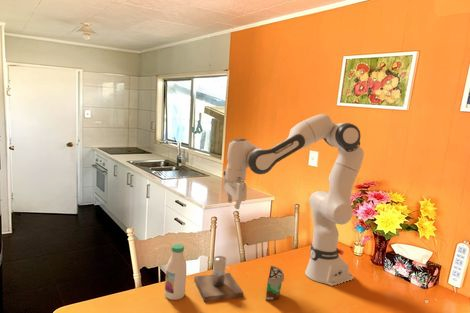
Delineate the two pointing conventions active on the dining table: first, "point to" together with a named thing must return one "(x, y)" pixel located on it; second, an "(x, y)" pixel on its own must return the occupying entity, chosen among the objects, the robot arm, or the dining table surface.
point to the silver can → (219, 271)
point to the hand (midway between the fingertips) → (233, 205)
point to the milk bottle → (176, 274)
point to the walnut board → (218, 288)
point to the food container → (274, 283)
